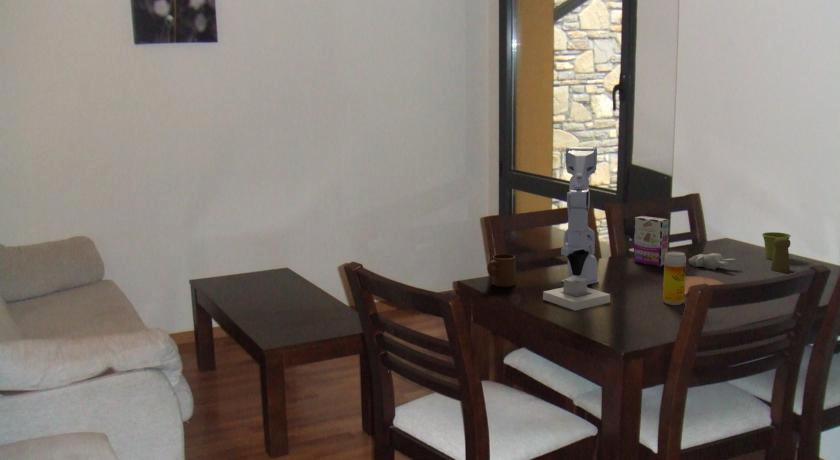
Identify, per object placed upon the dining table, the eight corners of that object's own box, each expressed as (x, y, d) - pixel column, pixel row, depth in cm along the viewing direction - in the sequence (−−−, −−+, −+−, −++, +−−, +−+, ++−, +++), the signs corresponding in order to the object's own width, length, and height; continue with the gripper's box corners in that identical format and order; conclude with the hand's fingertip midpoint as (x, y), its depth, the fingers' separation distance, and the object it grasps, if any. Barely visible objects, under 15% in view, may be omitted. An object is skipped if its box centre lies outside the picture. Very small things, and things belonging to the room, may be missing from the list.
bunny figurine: (697, 251, 292) (738, 252, 281) (698, 265, 293) (739, 267, 282) (684, 255, 286) (725, 257, 275) (685, 270, 287) (725, 272, 275)
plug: (571, 294, 252) (573, 275, 251) (586, 298, 249) (587, 279, 247) (562, 298, 249) (563, 279, 247) (577, 302, 245) (578, 283, 244)
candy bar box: (668, 264, 290) (670, 218, 286) (660, 267, 286) (662, 221, 283) (640, 259, 298) (642, 215, 294) (632, 262, 294) (634, 216, 291)
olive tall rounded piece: (770, 271, 279) (772, 239, 276) (770, 267, 284) (772, 235, 282) (790, 272, 276) (792, 240, 274) (789, 268, 282) (791, 236, 280)
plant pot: (754, 257, 298) (756, 233, 297) (773, 254, 302) (775, 231, 300) (775, 262, 290) (777, 238, 288) (794, 259, 294) (796, 235, 292)
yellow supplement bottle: (680, 306, 241) (683, 256, 238) (660, 303, 244) (662, 254, 241) (686, 301, 246) (688, 252, 243) (665, 298, 249) (668, 250, 246)
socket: (577, 292, 258) (577, 281, 257) (609, 302, 246) (610, 291, 246) (543, 299, 251) (543, 289, 250) (575, 310, 239) (575, 299, 238)
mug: (497, 291, 260) (497, 262, 258) (479, 287, 265) (478, 259, 263) (520, 284, 268) (520, 255, 267) (501, 280, 273) (501, 252, 272)
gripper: (579, 224, 252) (578, 268, 255) (552, 232, 242) (551, 277, 244) (599, 227, 247) (598, 271, 250) (573, 235, 237) (572, 281, 240)
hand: (576, 274), depth 247 cm, fingers closed
